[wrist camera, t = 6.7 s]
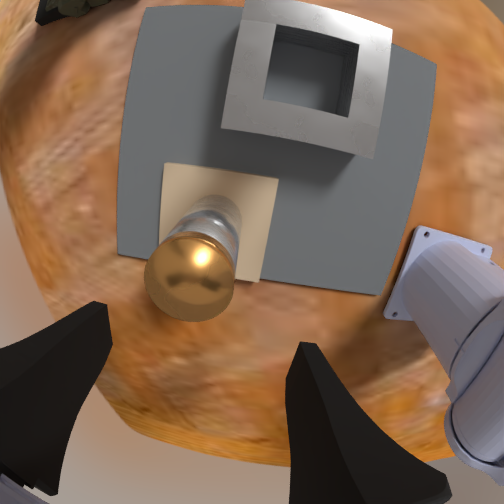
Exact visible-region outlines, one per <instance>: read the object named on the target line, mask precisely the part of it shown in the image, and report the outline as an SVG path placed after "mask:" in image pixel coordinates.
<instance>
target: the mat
mask: <svg viewBox="0 0 504 504" xmlns="http://www.w3.org/2000/svg"><path fill="white" fill-rule="evenodd" d="M243 9H244V7H235V6H218V5H175V6H158V7H147V8H146V9H145V13H144V16H143V20H142V23H141V27H140V31H139V35H138V39H137V43H136V48H135V52H134V57H133V61H132V66H131V71H130V77H129V82H128V88H127V95H126V101H125V108H124V116H123V124H122V133H121V143H120V155H119V170H118V191H117V246H118V254H121V255H126V256H132V257H137V258H143V259H149V258H150V256H151V255H152V253H153V252H154V251H155V250H156V248H157V247H158V246H159V229H160V210H161V196H162V183H163V172H164V163H167V162H170V163H179V164H188V165H196V166H204V167H212V168H219V169H226V170H233V171H240V172H246V173H253V174H259V175H264V176H270V177H276V178H278V179H279V181H278V187H277V192H276V197H275V202H274V208H273V213H272V218H271V223H270V228H269V233H268V239H267V244H266V249H265V254H264V259H263V264H262V269H261V274H260V278H261V279H267V280H274V281H280V282H287V283H294V284H301V285H308V286H314V287H322V288H329V289H336V290H343V291H351V292H358V293H366V294H373V295H381V293H382V291H383V288H384V286H385V283H386V281H387V278H388V275H389V273H390V270H391V267H392V265H393V262H394V259H395V256H396V253H397V251H398V248H399V245H400V242H401V239H402V236H403V233H404V229H405V226H406V223H407V220H408V216H409V213H410V209H411V206H412V202H413V199H414V195H415V191H416V187H417V183H418V179H419V175H420V171H421V166H422V162H423V157H424V153H425V148H426V143H427V137H428V132H429V126H430V120H431V113H432V106H433V98H434V90H435V80H436V69H437V64H435V63H433V62H431V61H429V60H427V59H425V58H423V57H421V56H419V55H417V54H415V53H413V52H411V51H408V50H406V49H404V48H402V47H399V46H397V45H395V44H392V43H391V51H390V61H389V69H388V77H387V84H386V91H385V98H384V104H383V110H382V116H381V122H380V127H379V133H378V138H377V143H376V148H375V153H374V157H373V159H370V158H366V157H363V156H359V155H355V154H352V153H348V152H344V151H340V150H336V149H332V148H328V147H324V146H319V145H315V144H310V143H306V142H301V141H296V140H291V139H286V138H281V137H275V136H270V135H264V134H258V133H252V132H245V131H238V130H231V129H223V128H221V124H222V118H223V112H224V106H225V100H226V94H227V88H228V83H229V77H230V72H231V67H232V61H233V56H234V51H235V46H236V41H237V37H238V32H239V27H240V22H241V18H242V13H243ZM343 64H344V57H343V56H340V55H336V54H332V53H329V52H325V51H321V50H317V49H313V48H308V47H304V46H299V45H294V44H289V43H283V42H278V41H274V44H273V49H272V54H271V60H270V65H269V71H268V76H267V82H266V87H265V93H264V99H265V100H271V101H277V102H282V103H287V104H292V105H297V106H302V107H307V108H311V109H315V110H320V111H324V112H328V113H332V114H335V112H336V106H337V101H338V95H339V89H340V83H341V77H342V70H343Z"/></svg>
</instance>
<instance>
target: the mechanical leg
mask: <svg viewBox="0 0 504 504" xmlns="http://www.w3.org/2000/svg"><path fill="white" fill-rule="evenodd" d="M108 1H109V0H40V2H39V6H38V10H37V14H36V18H35V21H36V22H37V23H38V24H40V25H41V26H42V25H45V24H48V23H51V22H53V21H56V20H59V19H62V18H65V17H68V16H72V17H76V18H77V17H79V16H82V15H84V14H86V13H87V12H88V10H89V9H90V7H91V6H99V5H102V4H106V3H108Z"/></svg>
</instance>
